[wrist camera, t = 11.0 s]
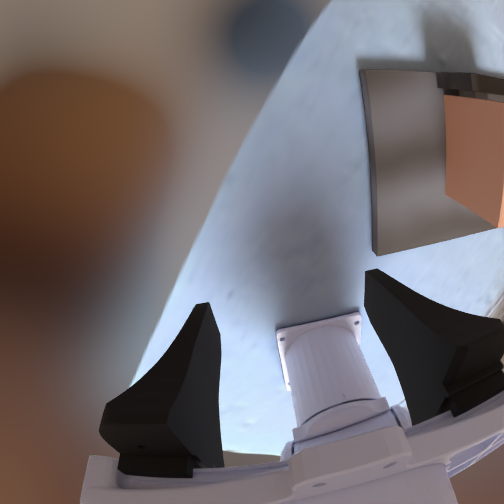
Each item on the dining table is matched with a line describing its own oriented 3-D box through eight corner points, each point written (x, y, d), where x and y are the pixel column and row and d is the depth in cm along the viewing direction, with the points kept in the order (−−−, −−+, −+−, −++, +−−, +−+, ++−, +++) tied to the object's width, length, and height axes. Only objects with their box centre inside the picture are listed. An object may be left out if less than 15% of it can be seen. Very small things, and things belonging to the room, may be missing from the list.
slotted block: (484, 189, 20) (534, 218, 14) (445, 194, 20) (497, 228, 14) (485, 99, 16) (543, 111, 11) (443, 94, 16) (505, 103, 11)
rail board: (511, 218, 23) (541, 239, 18) (372, 250, 23) (399, 284, 19) (515, 86, 16) (553, 93, 12) (359, 70, 17) (394, 65, 12)
